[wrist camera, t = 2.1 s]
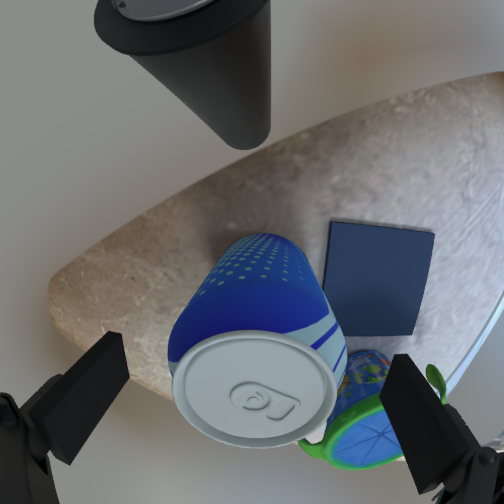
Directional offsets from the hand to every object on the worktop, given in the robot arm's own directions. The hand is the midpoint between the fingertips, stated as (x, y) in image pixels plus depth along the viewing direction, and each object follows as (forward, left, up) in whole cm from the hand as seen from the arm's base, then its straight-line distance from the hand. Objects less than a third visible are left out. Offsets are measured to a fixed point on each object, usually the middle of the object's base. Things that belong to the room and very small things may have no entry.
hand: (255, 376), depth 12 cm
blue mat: (0, +11, -14) cm, 18 cm away
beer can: (0, 0, -14) cm, 14 cm away
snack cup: (+11, +12, -14) cm, 21 cm away
